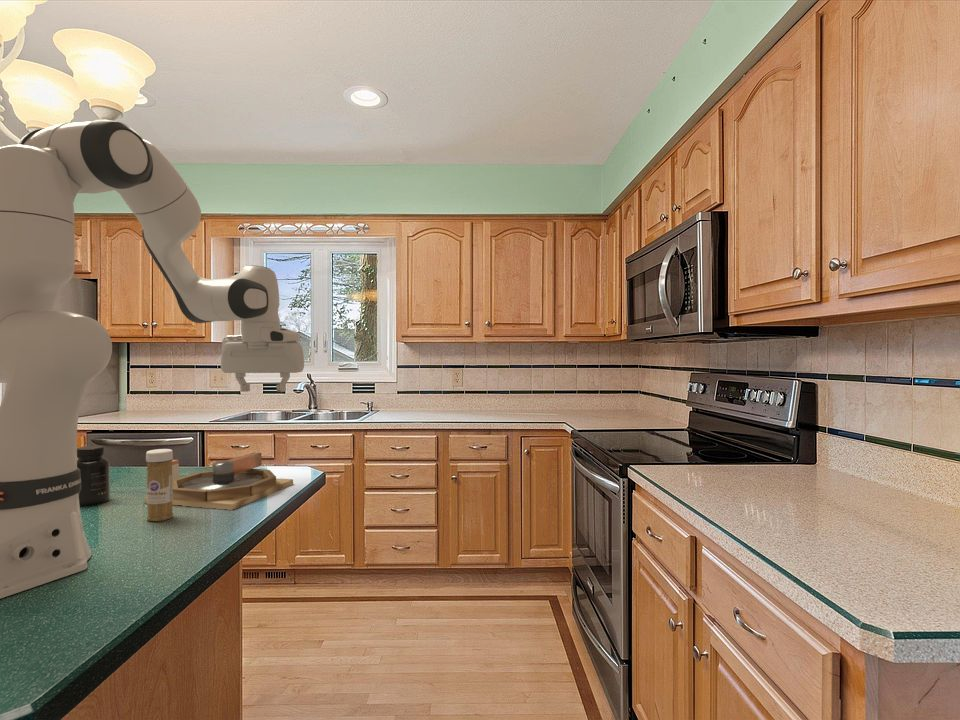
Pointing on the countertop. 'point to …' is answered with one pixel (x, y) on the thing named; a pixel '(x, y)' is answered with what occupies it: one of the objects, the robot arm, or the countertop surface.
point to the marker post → (175, 469)
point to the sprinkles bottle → (159, 484)
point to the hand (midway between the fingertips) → (263, 391)
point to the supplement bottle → (93, 475)
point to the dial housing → (226, 491)
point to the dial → (228, 474)
